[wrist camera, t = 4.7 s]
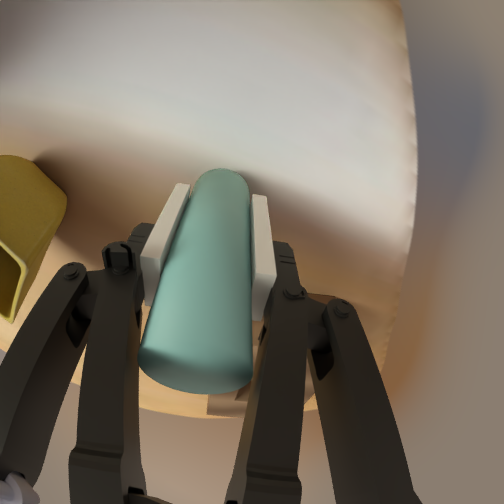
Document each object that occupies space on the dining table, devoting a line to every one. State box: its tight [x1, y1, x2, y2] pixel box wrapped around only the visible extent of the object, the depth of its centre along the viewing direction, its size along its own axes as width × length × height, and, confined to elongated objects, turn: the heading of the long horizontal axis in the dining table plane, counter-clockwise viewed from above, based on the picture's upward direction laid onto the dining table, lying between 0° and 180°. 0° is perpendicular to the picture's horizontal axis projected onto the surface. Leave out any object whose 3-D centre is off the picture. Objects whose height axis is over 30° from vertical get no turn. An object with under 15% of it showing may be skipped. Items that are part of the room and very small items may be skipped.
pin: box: [137, 169, 253, 394], centre depth 12 cm, size 4×4×12 cm
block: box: [207, 294, 336, 418], centre depth 26 cm, size 16×10×6 cm, turn 169°
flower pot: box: [0, 155, 67, 324], centre depth 14 cm, size 9×9×9 cm
